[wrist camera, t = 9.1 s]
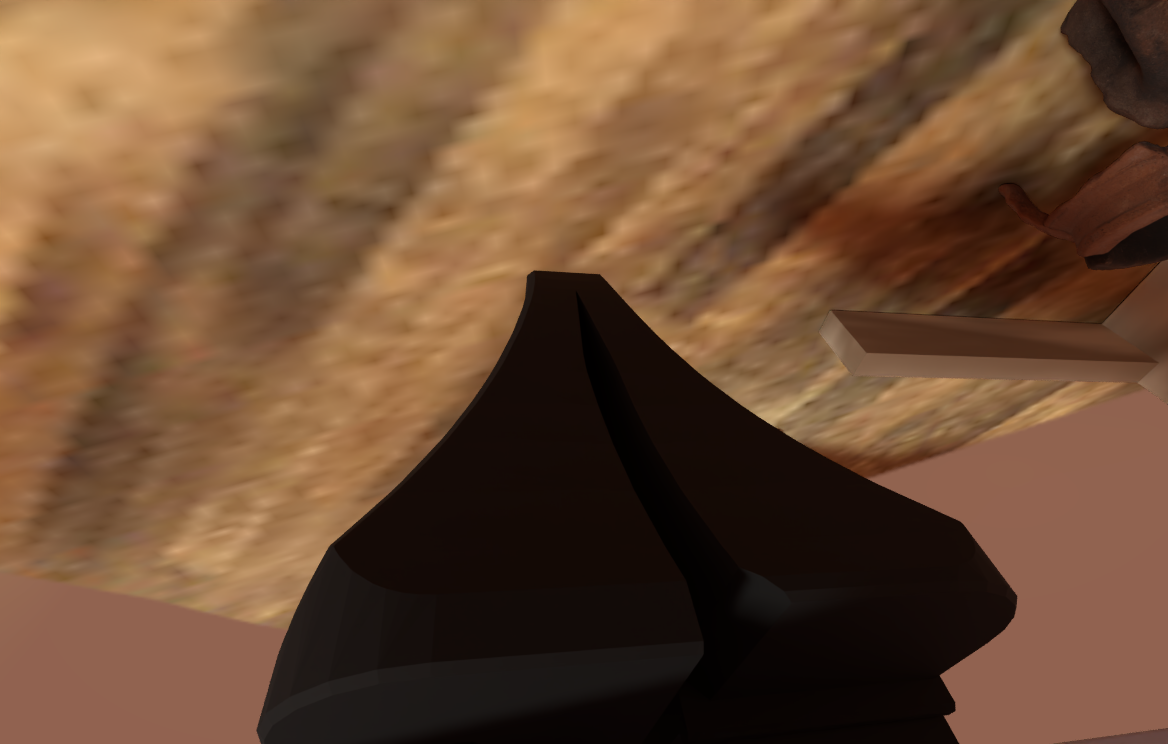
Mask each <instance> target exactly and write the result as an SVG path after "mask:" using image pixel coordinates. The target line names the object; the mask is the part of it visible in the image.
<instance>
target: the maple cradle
mask: <svg viewBox="0 0 1168 744" xmlns="http://www.w3.org/2000/svg"><path fill="white" fill-rule="evenodd" d="M819 333H820V334H821V336H822V337H823V338H824V340H825V341H826V342H827V343H828V345H829V346H830V347H831V349H832V350H833V351H834V353H835V354H836V355H837V356H838V358H839V359H840V360H841V362H842V363H843V364H844V365H845V367H846V368H847V369H848V371H849V372H850V373H851V375H852V376H883V377H923V378H964V379H1005V380H1045V381H1086V382H1126V383H1139V384H1140V385H1141V386H1143V387H1144V388H1145V389H1147V390H1148V391H1149V392H1151V393H1152V394H1154V395H1155V396H1156V397H1158V398H1159V399H1160V400H1162V401H1163V402H1165V403H1166V404H1167V405H1168V260H1165V261H1161V262H1160V263H1159V264H1158V265H1157V266H1156V268H1155V269H1154V270H1153V271H1152V272H1151V273H1150V274H1149V275H1148V276H1147V277H1146V278H1145V279H1144V280H1143V281H1142V282H1141V283H1140V284H1139V285H1138V286H1137V288H1136V289H1135V290H1134V291H1133V292H1132V293H1131V294H1130V295H1129V296H1128V297H1127V298H1126V299H1125V300H1124V301H1123V302H1122V303H1121V304H1120V305H1119V306H1118V308H1117V309H1116V310H1115V311H1114V312H1113V313H1112V314H1111V315H1110V316H1109V317H1108V318H1107V319H1106V320H1105V321H1104V322H1103V323H1102V324H1093V323H1073V322H1053V321H1034V320H1014V319H994V318H975V317H955V316H936V315H916V314H896V313H877V312H857V311H837V310H830V312H829V314H828V316H827V318H826V319H825V321H824V323H823V325H822V327H821V329H820V331H819Z"/></svg>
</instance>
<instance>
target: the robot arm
mask: <svg viewBox="0 0 1168 744" xmlns="http://www.w3.org/2000/svg"><path fill="white" fill-rule="evenodd" d="M1016 605H1017V595H1016V594H1015V592H1014V591H1013V590H1012V588H1010V586H1009V584H1008V583H1007V582H1006V581H1005V579H1004V578H1003V576H1002V575H1001V574H1000V572H999V571H998V570H997V568H996V567H995V566H994V564H993V563H992V562H991V560H990V559H989V558H988V556H987V555H986V554H985V552H984V551H983V550H982V549H981V547H980V546H979V545H978V543H977V542H976V541H975V539H974V538H973V537H972V535H971V534H970V533H969V531H968V530H967V529H966V527H965V526H964V525H963V524H962V523H961V522H960V521H958V520H956V519H953V518H951V517H949V516H947V515H944V514H942V513H940V512H938V511H936V510H934V509H931V508H929V507H927V506H925V505H923V504H920V503H918V502H916V501H914V500H911V499H909V498H907V497H905V496H903V495H900V494H898V493H896V492H894V491H891V490H889V489H887V488H885V487H882V486H880V485H878V484H876V483H874V482H872V481H870V480H868V479H866V478H864V477H862V476H860V475H858V474H857V473H855V472H853V471H851V470H849V469H847V468H845V467H843V466H841V465H839V464H837V463H836V462H834V461H832V460H830V459H828V458H826V457H824V456H822V455H821V454H819V453H817V452H815V451H814V450H812V449H810V448H808V447H807V446H805V445H803V444H801V443H800V442H798V441H796V440H794V439H793V438H791V437H790V436H788V435H786V434H785V433H783V432H782V431H780V430H778V429H777V428H775V427H774V426H772V425H770V424H769V423H767V422H766V421H764V420H762V419H761V418H759V417H758V416H756V415H755V414H753V413H752V412H750V411H749V410H747V409H746V408H745V407H743V406H742V405H740V404H739V403H737V402H736V401H735V400H733V399H732V398H731V397H729V396H728V395H727V394H725V393H724V392H723V391H721V390H720V389H719V388H717V387H716V386H715V385H713V384H712V383H711V382H709V381H708V380H707V379H706V378H704V377H703V376H702V375H701V374H700V373H698V372H697V371H696V370H695V369H694V368H692V367H691V366H690V365H689V364H688V363H687V362H686V361H685V360H683V359H682V358H681V357H680V356H679V355H678V354H677V353H676V352H674V351H673V350H672V349H671V348H670V347H669V346H668V345H667V344H666V343H665V342H664V341H663V340H662V339H661V338H660V337H658V336H657V335H656V334H655V333H654V332H653V331H652V330H651V329H650V328H649V326H648V325H647V324H646V323H645V322H644V321H643V320H642V319H641V318H640V317H639V316H638V315H637V314H636V313H635V312H634V311H633V310H632V309H631V308H630V307H629V305H628V304H627V303H626V302H625V301H624V300H623V299H622V298H621V297H620V296H619V295H618V293H617V292H616V291H615V290H614V289H613V288H612V287H611V286H610V285H609V284H608V282H607V281H606V280H605V279H604V278H603V277H602V276H601V275H600V274H585V273H568V272H551V271H533V272H531V273H530V274H529V275H527V283H526V295H525V301H524V305H523V308H522V311H521V313H520V316H519V318H518V321H517V323H516V326H515V328H514V331H513V333H512V335H511V337H510V339H509V341H508V343H507V345H506V347H505V349H504V351H503V353H502V355H501V356H500V358H499V360H498V362H497V364H496V366H495V367H494V369H493V371H492V372H491V374H490V375H489V377H488V379H487V380H486V382H485V383H484V385H483V386H482V388H481V389H480V391H479V392H478V394H477V395H476V396H475V398H474V399H473V401H472V402H471V403H470V405H469V406H468V407H467V409H466V410H465V411H464V412H463V414H462V415H461V416H460V418H459V419H458V420H457V421H456V423H455V424H454V425H453V427H452V428H451V429H450V430H449V431H448V432H447V434H446V435H445V436H444V437H443V438H442V439H441V441H440V442H439V443H438V444H437V445H436V446H435V447H434V448H433V449H432V450H431V451H430V452H429V453H428V454H427V456H426V457H425V458H424V459H423V460H422V461H421V462H420V463H419V464H418V465H417V466H416V467H415V468H414V469H413V470H412V471H411V472H410V473H409V474H408V475H407V477H406V478H405V479H404V480H403V481H402V482H401V483H400V484H399V485H398V486H396V487H395V488H394V489H393V490H392V491H391V492H390V493H389V494H388V495H387V496H386V497H385V498H384V499H382V500H381V501H380V502H379V503H378V504H377V505H376V506H374V507H373V508H372V509H371V510H370V511H369V512H368V513H367V514H365V515H364V516H363V517H362V518H361V519H360V520H359V521H358V522H356V523H355V524H354V525H353V526H352V527H351V528H350V529H348V530H347V531H346V532H345V533H344V534H343V535H342V536H341V537H339V538H338V539H337V540H336V541H335V542H334V543H332V544H331V545H330V546H329V548H328V550H327V551H326V553H325V555H324V557H323V558H322V560H321V562H320V564H319V566H318V568H317V570H316V571H315V573H314V575H313V577H312V579H311V581H310V583H309V584H308V586H307V589H306V591H305V593H304V595H303V597H302V599H301V601H300V603H299V605H298V607H297V609H296V612H295V614H294V616H293V619H292V621H291V624H290V626H289V629H288V631H287V633H286V636H285V638H284V641H283V643H282V646H281V648H280V651H279V654H278V657H277V660H276V664H275V667H274V671H273V674H272V678H271V681H270V685H269V689H268V692H267V695H266V699H265V702H264V706H263V709H262V713H261V716H260V720H259V723H258V727H257V733H258V736H259V739H260V742H261V744H959V743H958V741H957V739H956V737H955V735H954V734H953V732H952V730H951V728H950V726H949V725H948V723H947V721H946V719H945V718H944V716H943V715H949V714H951V713H953V712H955V701H954V700H953V698H952V696H951V695H950V693H949V691H948V689H947V688H946V686H945V684H944V682H943V681H942V679H941V677H940V676H939V675H941V674H942V673H944V672H945V671H946V670H948V669H949V668H951V667H952V666H954V665H955V664H957V663H958V662H960V661H961V660H963V659H964V658H966V657H967V656H969V655H970V654H972V653H973V652H975V651H976V650H978V649H979V648H981V647H982V646H984V645H985V644H987V643H988V642H989V641H991V640H992V639H993V638H994V637H996V636H997V635H998V634H999V633H1001V632H1002V631H1003V630H1005V628H1006V627H1007V626H1008V624H1009V623H1010V622H1011V620H1012V619H1013V618H1014V615H1015V611H1016ZM1055 744H1168V728H1166V729H1158V730H1150V731H1143V732H1136V733H1129V734H1121V735H1114V736H1106V737H1099V738H1092V739H1084V740H1077V741H1070V742H1062V743H1055Z"/></svg>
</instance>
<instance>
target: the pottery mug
mask: <svg viewBox="0 0 1168 744" xmlns="http://www.w3.org/2000/svg"><path fill="white" fill-rule="evenodd" d="M1061 32H1062V33H1063V34H1066V35H1068V42H1069V45H1070V46H1072V47H1073V48H1074V49H1075V50H1076V51H1077V52H1079V53H1080V54H1082V56H1083V58H1084V59H1085V60H1086V61H1087V62H1088V63H1090V65H1091V66H1092V72H1091V77H1092V78H1093V80H1094V82H1095V84H1096V85H1097V86H1098V87H1099V89H1100V90H1101V91H1102V93H1103V99H1104V102H1105V103H1106V105H1107V107H1108V108H1109V109H1110V110H1112V111H1113V112H1115V113H1117V114H1119V115H1122V116H1124V117H1127V118H1129V119H1131V120H1133V121H1135V122H1136V123H1138V124H1139V125H1141V126H1144V127H1149V128H1154V129H1163V128H1168V0H1077V1H1076V3H1075V4H1074V5H1073V7H1072V8H1071V9H1070V11H1069V12H1068V14H1067V16H1066V18H1065V20H1064V22H1063V23H1062V26H1061ZM998 190H999V192H1000V194H1001V195H1002V196H1003V197H1004V198H1005V199H1006V203H1007V204H1008V206H1009V207H1010V208H1011V209H1012V210H1014V211H1016V212H1017V215H1018V217H1019V218H1020V219H1021V220H1022V221H1023V222H1025V223H1027V224H1030V225H1032V226H1034V227H1036V228H1037V229H1039V230H1040V231H1042V232H1044V233H1047V234H1048V235H1051V236H1054V237H1056V238H1059V239H1064V240H1069V241H1071V242H1074V243H1076V246H1077V254H1078V255H1079V256H1081V257H1084V258H1085V261H1086V264H1087V267H1088V268H1089V269H1092V270H1113V269H1124V268H1129V267H1134V266H1141V265H1146V264H1151V263H1156V262H1160V261H1165V260H1168V146H1166V147H1160V146H1159V145H1154V144H1151V143H1150V142H1146V141H1143V142H1138V143H1136V144H1134V145H1133V146H1131V147H1130V148H1129V149H1128V150H1127V151H1125V152H1124V153H1123V154H1122V155H1121V156H1120V157H1119V158H1118V159H1117V160H1115V161H1114V162H1113V163H1112V164H1111V165H1110V166H1108V167H1107V168H1106V169H1105V170H1103V171H1102V172H1099V173H1097V174H1095V175H1094V176H1093V177H1092V178H1090V179H1089V180H1088V181H1087V182H1086V183H1085V184H1084V185H1083V186H1082V187H1081V189H1080V190H1079V192H1078V193H1077V194H1076V195H1075V196H1074V197H1073V198H1072V199H1070V200H1068V201H1066V202H1064V203H1062V204H1061V205H1060V206H1058V207H1057V208H1056V209H1055V210H1054V211H1053V212H1052V213H1051V214H1050V215H1049V214H1046V213H1044V212H1041V211H1040V210H1039V209H1038V208H1037V207H1036V206H1035V205H1034V204H1033V203H1032V202H1031V201H1030V199H1029V198H1028V197H1027V195H1026V194H1025V192H1024V191H1023V190H1022V189H1021V188H1020V187H1019V186H1017V185H1015V184H1003V185H1001V186H999V188H998Z"/></svg>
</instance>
